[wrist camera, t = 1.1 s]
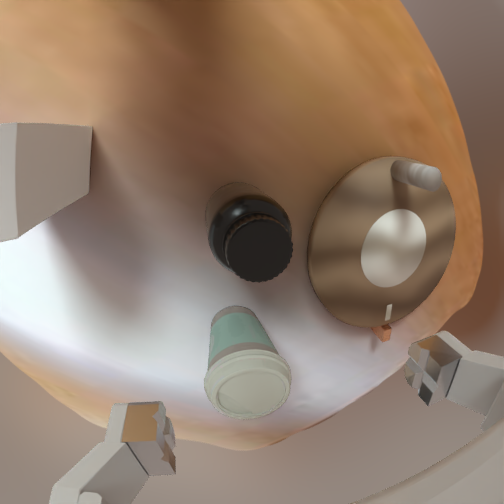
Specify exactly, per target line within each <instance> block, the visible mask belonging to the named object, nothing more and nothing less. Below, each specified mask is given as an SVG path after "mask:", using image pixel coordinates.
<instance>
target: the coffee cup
mask: <svg viewBox="0 0 504 504" xmlns="http://www.w3.org/2000/svg"><path fill="white" fill-rule="evenodd" d="M290 384H291V372H290V368H289V365H288V364H287V362H286V361H285V360H284V359H283V358H282V357H280V356H279V354H278V352H277V351H276V349H275V347H274V346H273V344H272V342H271V341H270V339H269V337H268V336H267V334H266V332H265V331H264V329H263V327H262V325H261V324H260V322H259V320H258V319H257V317H256V315H255V314H254V313H253V312H252V311H251V310H249V309H247V308H245V307H241V306H232V307H228V308H225V309H223V310H221V311H220V312H218V313H217V314H216V316H215V317H214V318H213V321H212V324H211V334H210V346H209V359H208V372H207V374H206V376H205V379H204V388H205V392H206V394H207V397H208V399H209V400H210V401H211V403H212V404H213V406H214V408H215V409H216V410H217V411H218V412H220V413H221V414H223V415H225V416H227V417H230V418H234V419H243V420H245V419H255V418H259V417H263V416H265V415H268V414H270V413H272V412H274V411H275V410H277V409H278V408H279V407H280V406H282V405H283V403H284V402H285V401H286V399H287V398H288V396H289V393H290Z"/></svg>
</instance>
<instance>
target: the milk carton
mask: <svg viewBox="0 0 504 504" xmlns="http://www.w3.org/2000/svg"><path fill="white" fill-rule="evenodd" d="M91 141H92V126H83V125H69V124H51V123H18V122H14V123H3V124H0V242H3V241H8V240H13V239H17V238H18V237H20V236H21V235H23V234H24V233H26V232H27V231H29V230H30V229H32V228H33V227H35V226H36V225H38V224H39V223H41V222H42V221H44V220H45V219H47V218H49V217H50V216H52V215H53V214H55V213H57V212H58V211H60V210H61V209H63V208H65V207H66V206H68V205H70V204H71V203H73V202H75V201H76V200H78V199H80V198H82V197H83V196H85V195H87V194H88V193H89V179H90V156H91Z"/></svg>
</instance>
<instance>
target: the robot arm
mask: <svg viewBox="0 0 504 504" xmlns="http://www.w3.org/2000/svg"><path fill="white" fill-rule="evenodd" d="M408 355H409V356H410V358H409V359H408V361H407V362H406V364H405V369H404V372H405V378H406V380H407V382H408V384H409V385H410V386H411V387H412V388H415V389H418V395H419V397H420V398H421V399H422V400H423V401H424V402H425V403H426V405H427V406H430V405H432V404H434V403H436V402H438V401H440V400H442V399H444V398H446V399H448V400H450V401H452V402H455V403H457V404H459V405H461V406H464V407H466V408H469V409H471V410H473V411H476V412H478V413H480V414H483V415H485V416H486V417H485V419H484V421H483V423H482V424H481V429H482V430H483V431H484V432H483V433H482V434H480V435H479V436H478V437H477V438H475V439H473V440H472V441H470V442H469V443H468V444H466V445H465V446H463V447H462V448H460V449H459V450H457V451H456V452H454V453H452V454H451V455H449V456H447V457H446V458H444V459H443V460H441V461H439V462H437V463H436V464H434V465H432V466H430V467H429V468H427V469H425V470H423V471H421V472H420V473H418V474H416V475H414V476H412V477H410V478H408V479H406V480H404V481H402V482H400V483H398V484H396V485H394V486H391V487H389V488H387V489H385V490H382V491H380V492H378V493H375V494H373V495H371V496H368V497H366V498H363V499H361V500H358V501H355V502H353V503H350V504H504V357H502V356H498V355H493V354H488V353H484V352H480V351H473V352H472V351H471V350H470V349H469V348H468V347H466V346H465V345H463V344H462V343H461V342H460V341H459V340H458V339H456V338H455V337H453V335H451V334H450V333H449V332H447V331H441V332H439V333H437V334H434V335H433V336H430V337H427V338H425V339H422V340H420V341H417V342H415V343H412V344H411V345H410V347H409V350H408ZM174 447H175V434H174V429H173V426H172V423H171V420H170V419H169V418H168V417H166V409H165V407H164V404H163V402H161V401H155V402H133V403H115V404H114V405H113V406H112V409H111V413H110V418H109V422H108V426H107V431H106V435H105V440H104V442H100V443H99V444H97V445H96V446H95V447H94V448H93V449H92V450H91V451H90V452H89V453H88V454H87V455H86V456H85V457H84V458H83V459H82V460H80V461H79V462H78V463H77V464H76V465H75V466H74V467H73V468H72V469H71V470H70V471H69V472H68V473H67V474H65V475H64V476H63V477H62V478H61V479H60V480H59V481H58V482H57V483H56V484H55V485H54V486H53V489H52V493H51V497H50V502H49V504H131V503H132V502H133V500H134V499H135V497H136V496H137V494H138V493H139V491H140V490H141V489H142V487H143V486H144V484H145V483H146V481H147V480H148V478H149V476H154V475H171V474H176V470H175V469H176V468H175V467H176V466H175V456H174V454H173V452H172V449H173V448H174Z"/></svg>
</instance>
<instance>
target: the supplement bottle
mask: <svg viewBox="0 0 504 504" xmlns="http://www.w3.org/2000/svg"><path fill="white" fill-rule="evenodd" d="M205 217H206V227H207V234H208V240H209V245H210V248H211V251H212V253H213V255H214V257H215V258H216V260H217V261H218V262H219V263H220V264H221V265H222V266H223V267H225V268H226V269H228V270H229V271H231V272H234V273H235V274H236V275H238V276H240V278H242V279H245V280H246V281H251V282H262V281H267V280H271V279H273V278H274V277H277V276H278V275H279V274H280V273H282V272H283V270H284V269H285V268H286V267H287V264H288V263H289V262H290V258H291V257H292V252H293V248H292V246H293V243H292V241H291V236H292V230H291V224H290V220H289V218H288V215H287V214H286V212H285V211H284V209H283V208H282V207H281V206H280V205H279V204H278V203H277V202H276V201H275V200H273V199H272V198H271V197H269V196H268V195H266V194H265V193H264V192H262V191H261V190H259V189H258V188H256V187H255V186H253V185H250V184H247V183H240V182H237V183H230V184H227V185H225V186H223V187H221V188H220V189H218V190H217V191H216V192H215V193H214V194H213V195H212V196H211V198H210V200H209V202H208V204H207V207H206V213H205Z"/></svg>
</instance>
